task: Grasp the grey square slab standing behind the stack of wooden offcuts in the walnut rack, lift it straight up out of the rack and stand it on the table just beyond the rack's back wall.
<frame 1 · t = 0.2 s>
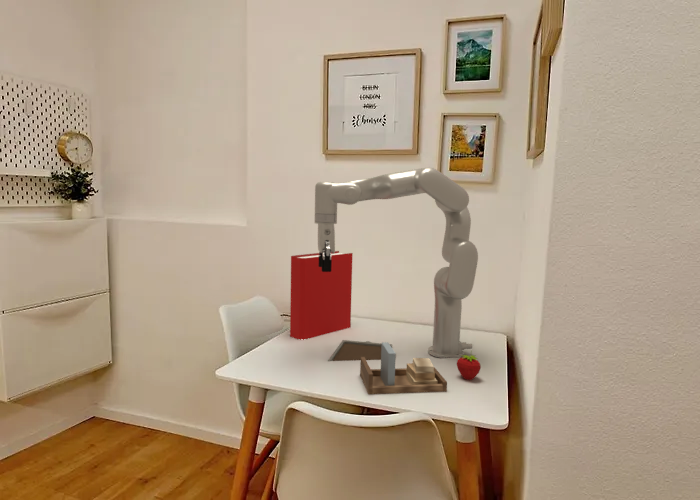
hand: (324, 269, 164), 31 cm above the table, tool pointing down, fingers open, 9 cm apart
offcut middle: (420, 374, 145), point 3 cm above the table, touching offcut bottom, offcut top
grey square slab: (387, 383, 143), point 1 cm above the table, touching rack
rack: (401, 386, 144), on the table
strawberry: (467, 382, 149), on the table
book: (320, 331, 198), on the table
offcut bottom: (421, 382, 145), point 1 cm above the table, touching offcut middle, rack
offcut top: (422, 368, 144), point 6 cm above the table, touching offcut middle
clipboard: (361, 357, 171), on the table
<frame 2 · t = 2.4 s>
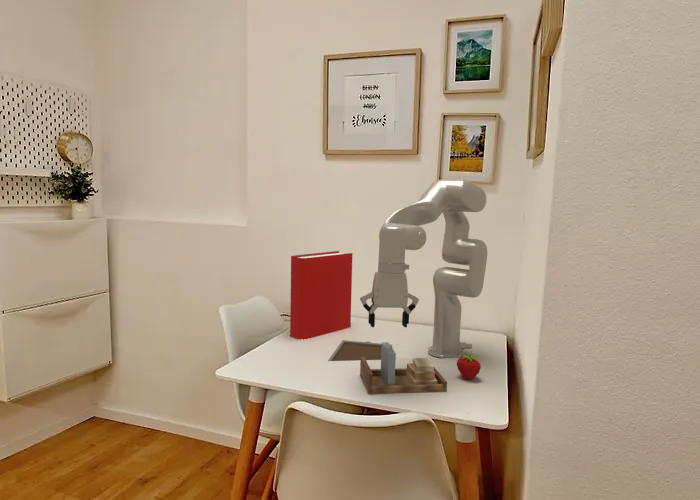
hand: (388, 326, 141), 19 cm above the table, tool pointing down, fingers open, 9 cm apart
nothing on the table moved.
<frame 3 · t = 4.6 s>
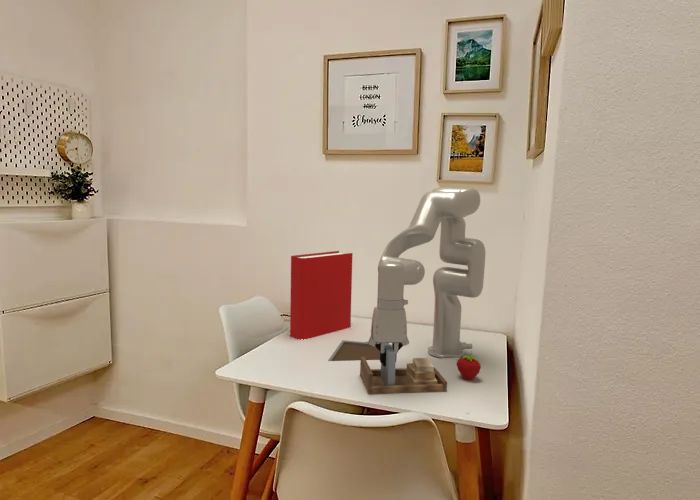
hand: (387, 364, 143), 7 cm above the table, tool pointing down, fingers closed on grey square slab, 2 cm apart
grey square slab: (387, 383, 143), point 1 cm above the table, touching gripper
everything else where it was.
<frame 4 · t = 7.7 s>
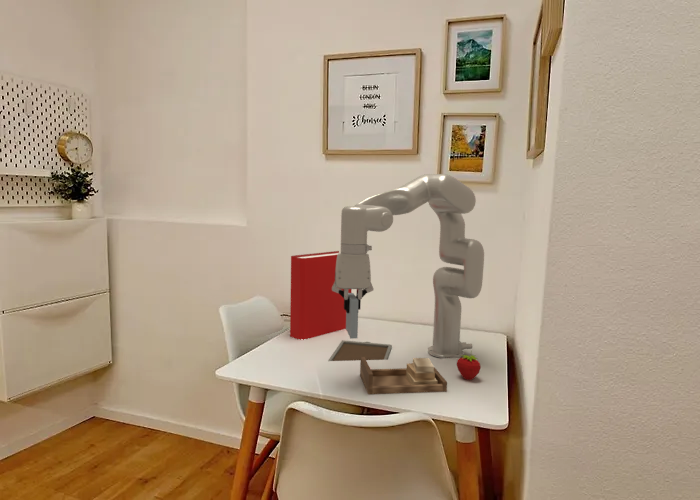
hand: (351, 311, 141), 23 cm above the table, tool pointing down, fingers closed on grey square slab
grey square slab: (351, 333, 141), point 16 cm above the table, touching gripper
everything else where it was.
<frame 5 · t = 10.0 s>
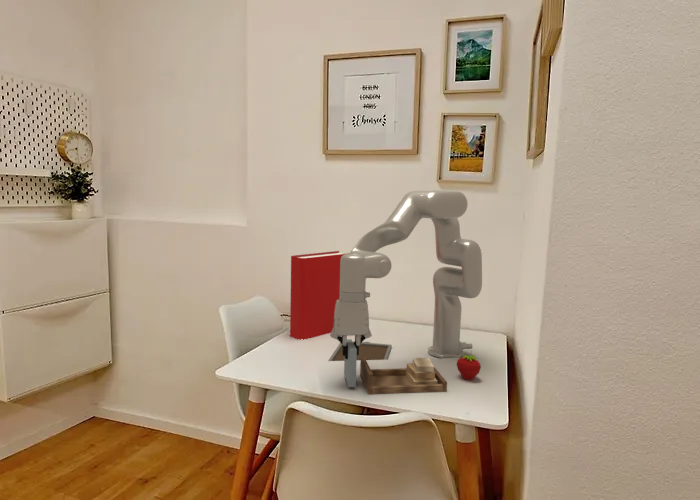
hand: (350, 357, 142), 9 cm above the table, tool pointing down, fingers closed on grey square slab, 2 cm apart
grey square slab: (349, 380, 143), point 2 cm above the table, touching gripper
everything else where it was.
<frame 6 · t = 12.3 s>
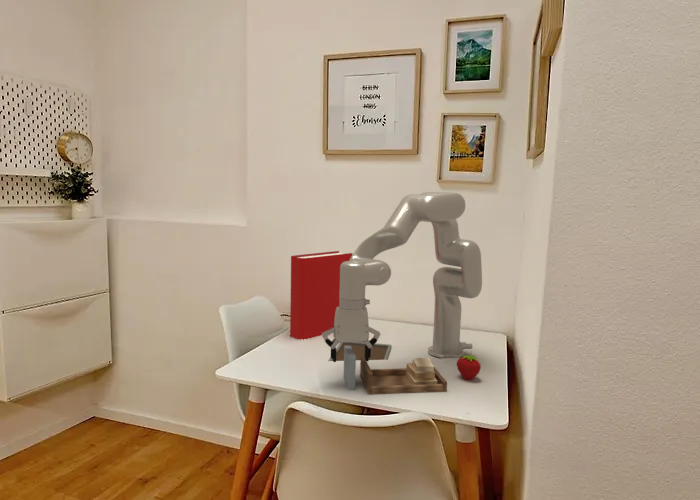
hand: (350, 360, 142), 8 cm above the table, tool pointing down, fingers open, 9 cm apart
grey square slab: (348, 386, 143), on the table
everything else where it was.
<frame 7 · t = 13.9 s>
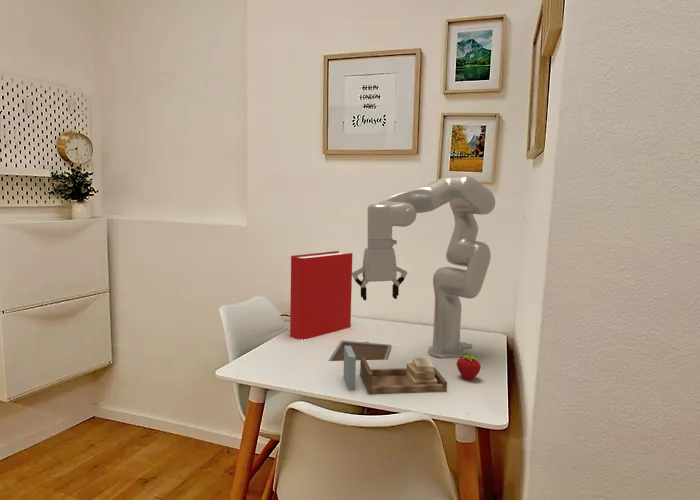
hand: (379, 298, 150), 25 cm above the table, tool pointing down, fingers open, 9 cm apart
nothing on the table moved.
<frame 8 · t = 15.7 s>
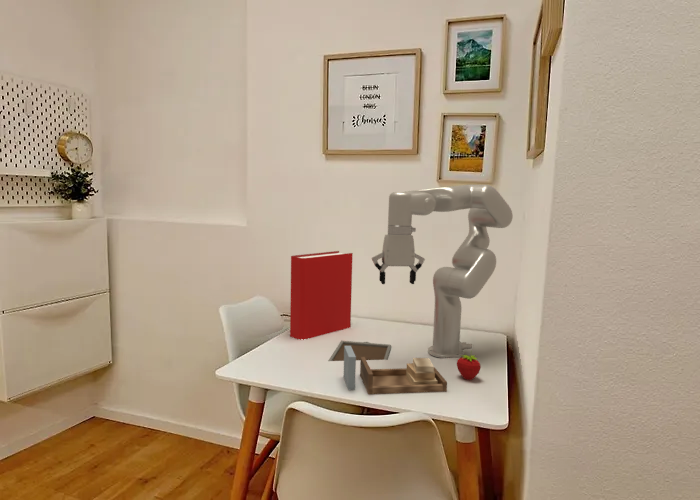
hand: (397, 283, 157), 28 cm above the table, tool pointing down, fingers open, 9 cm apart
nothing on the table moved.
at the end: grey square slab inside the target area (0.5 cm from its centre), on the table; grey square slab tilted 0°; offcut top moved 0.0 cm from its start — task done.
